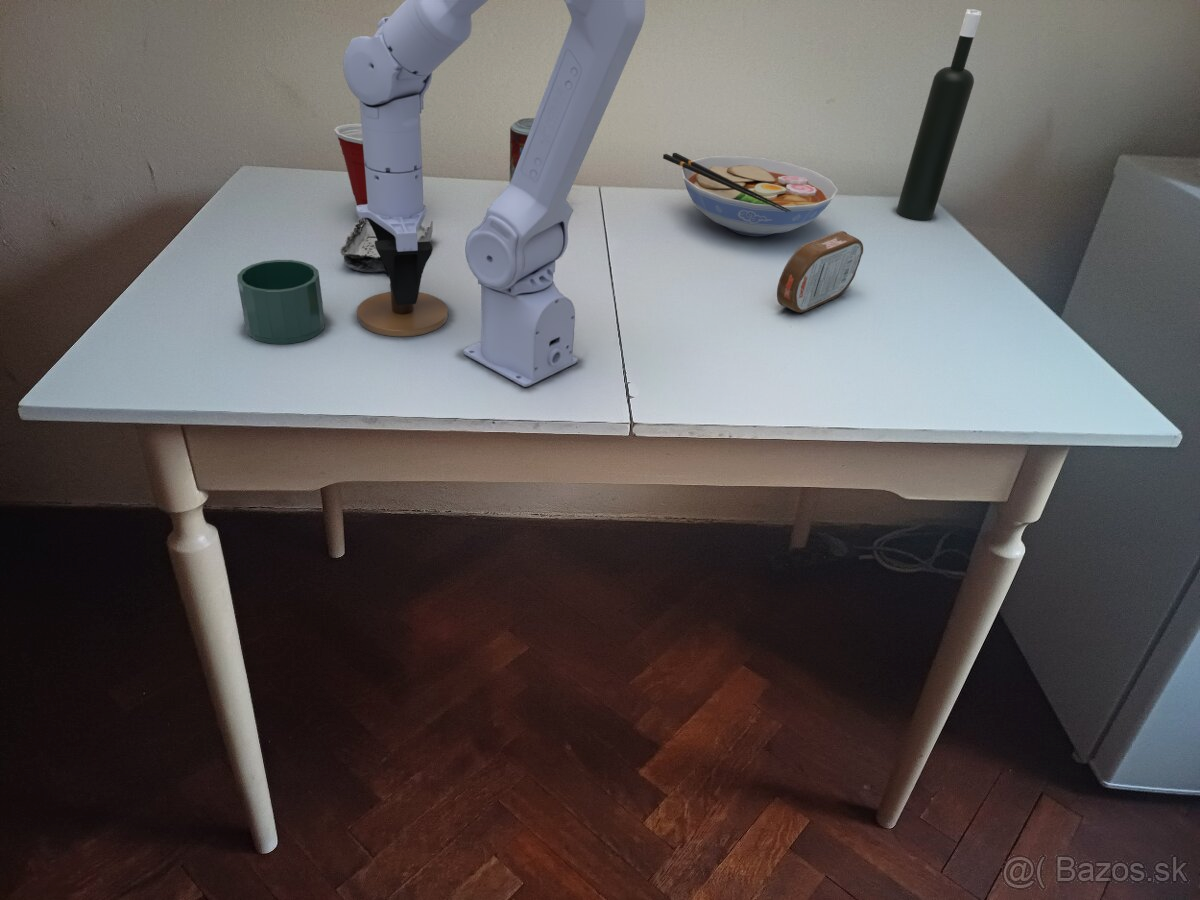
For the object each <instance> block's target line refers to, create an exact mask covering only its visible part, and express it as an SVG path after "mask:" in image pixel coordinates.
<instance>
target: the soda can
mask: <svg viewBox="0 0 1200 900" xmlns="http://www.w3.org/2000/svg"><path fill="white" fill-rule="evenodd" d="M534 119H535V117H526V118H520V119H518V120H517V121H515V122H513V123H512V124H511V126H510V128H509V183H510V182H511V179H512V177H513V174H514V172H515V169H516V166H517V164H518V161H519V158H520V156H521V153H522V151H523V148H524V145H525V143H526V140H527V137H528V135H529V132H530V129H531V127H532V124H533V122H534Z"/></svg>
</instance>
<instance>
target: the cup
mask: <svg viewBox="0 0 1200 900" xmlns="http://www.w3.org/2000/svg"><path fill="white" fill-rule="evenodd" d="M236 276H237V278H236V282H237V288H238V292H239V299H240V303H241V308H242V313H243V319H244V324H245V329H246V332H247V334H248V336H249V337H251V338H252V339H254V340H255V341H258V342H262V343H265V344H272V345H289V344H295V343H301V342H305V341H308V340H311V339H312V338H315V337H316V336H318V335H320V334H321V333H322V332H323V331H324V329H325V326H326V322H325V321H326V320H325V313H324V304H323V297H322V289H321V281H320V273H319V269H317V268H316V267H315V266H314V265H313V264H311V263H308V262H305V261H300V260H294V259H273V260H265V261H260V262H259V261H258V262H255V263H253V264H250V265H247V266H246V267H245V268H243V269H241V270H240V271H239V272H238V273H237V275H236Z"/></svg>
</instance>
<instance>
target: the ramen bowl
mask: <svg viewBox="0 0 1200 900" xmlns="http://www.w3.org/2000/svg"><path fill="white" fill-rule="evenodd" d="M662 159H663V160H666V161H668V162H670V163H672V164H675V165H677V166H679V167H681V168H680V172H681V175H682V178H683V181H684V185H685V187H686V188H685V189H686V191H687V192H688V194H689V197H690V199H691V201H692V202H693V203H694V205H695V207H696V209H698V210H699V211H700V212H701V213H702V214H703V215H705V216H707V218H708V219H710V220H711V221H713V222H714V223H716V224H718V225H721V226H723V227H726V228H727V229H728V230H730V231H731V232H734V233H736V234H737V235H738V234H739V235H744V236H749V237H758V238H759V237H767V236H770V235H773V234H782V233H788V232H790V231H791V232H792V231H793V230H796V229H798V228H800V227H804V226H805V225H808V224H810V223H811V222H812V221H814V220H815V219H816V218H818V216H819V215H820V214H821V213H823V212H824V210H825V209H826V208H827V207H828V205H830V203H831V202H832V200H834V197H835V196H836V194H837V193H838V191H839V189H838V188H837V187H836V185H835V184H834V183H833V181H832V180H831V179H830V178H829V177H826V176H824V175H823V174H821V173H819V172H817V171H816V170H813V169H810V168H807V167H804V166H800V165H797V164H794V163H791V162H787V161H782V160H777V159H772V158H766V157H759V156H747V155H746V156H744V155H718V156H717V155H711V156H705V157H701V158H698V159H694V160H691V159H689V158H687V157H686V156H683V155H681V154H679V153H678V152H672V155H670V154H668V153H663V155H662Z"/></svg>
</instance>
